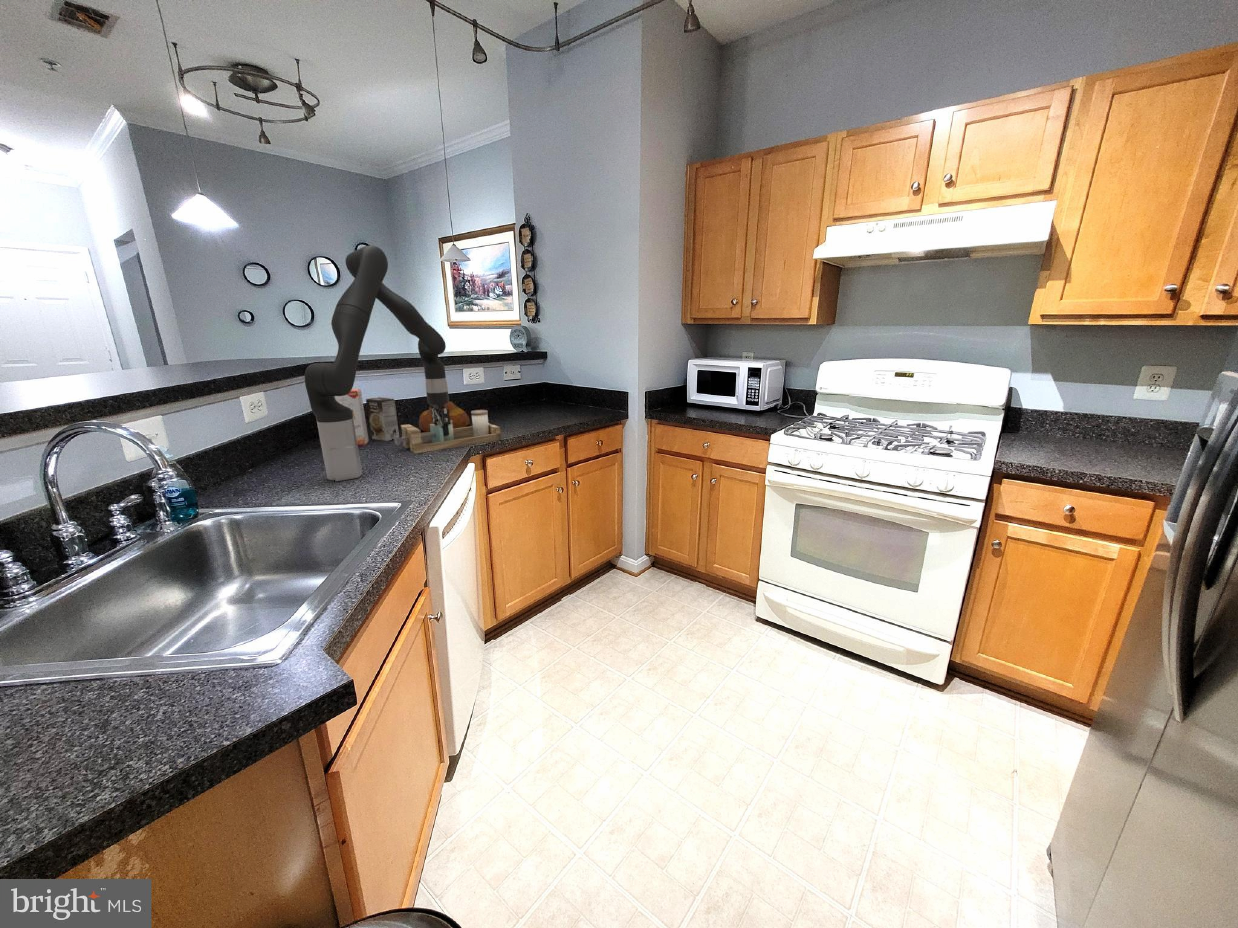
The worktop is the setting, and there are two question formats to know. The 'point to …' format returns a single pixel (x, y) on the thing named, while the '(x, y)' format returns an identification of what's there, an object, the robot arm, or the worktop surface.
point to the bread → (455, 413)
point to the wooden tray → (417, 447)
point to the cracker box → (356, 413)
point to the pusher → (426, 435)
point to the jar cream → (480, 422)
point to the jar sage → (451, 434)
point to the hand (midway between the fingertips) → (442, 433)
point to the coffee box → (382, 418)
